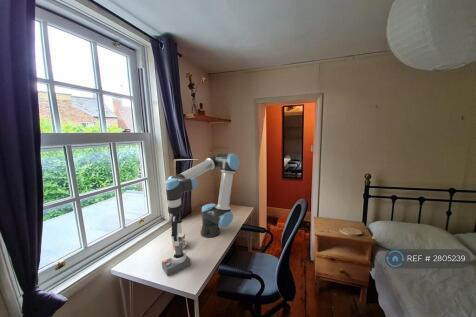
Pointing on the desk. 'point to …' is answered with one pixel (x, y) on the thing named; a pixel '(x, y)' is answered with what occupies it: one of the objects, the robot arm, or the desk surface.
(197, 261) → the desk surface
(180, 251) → the grey flashlight
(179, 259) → the camera body
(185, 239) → the teacup with lid
